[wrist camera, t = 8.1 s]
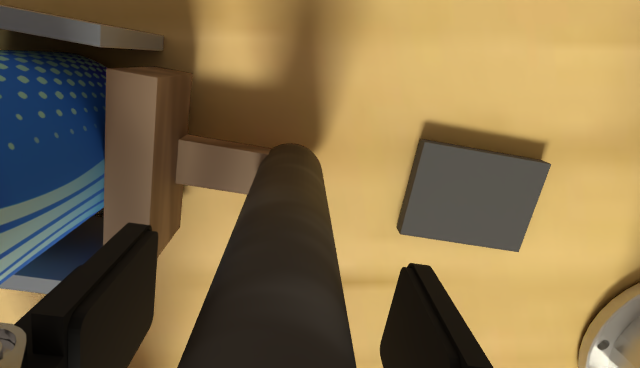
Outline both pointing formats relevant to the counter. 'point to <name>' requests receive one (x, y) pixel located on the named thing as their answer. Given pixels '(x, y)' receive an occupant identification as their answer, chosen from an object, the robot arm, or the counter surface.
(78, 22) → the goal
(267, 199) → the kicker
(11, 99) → the beer can
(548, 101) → the counter surface
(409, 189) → the gray rectangular plate
